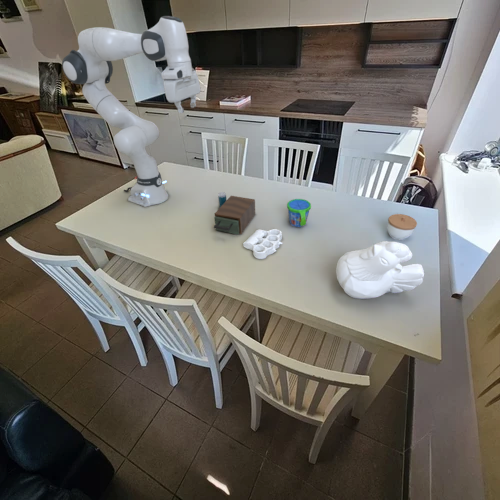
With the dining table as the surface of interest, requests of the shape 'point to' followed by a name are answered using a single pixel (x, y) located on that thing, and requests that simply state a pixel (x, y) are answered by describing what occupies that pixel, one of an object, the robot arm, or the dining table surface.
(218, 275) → the dining table surface
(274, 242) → the white brass knuckles
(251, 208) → the cabinet
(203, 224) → the dining table surface
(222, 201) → the salt shaker
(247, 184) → the dining table surface
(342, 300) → the dining table surface
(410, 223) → the trinket box
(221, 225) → the drawer
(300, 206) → the snack cup
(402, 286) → the decorative rooster
